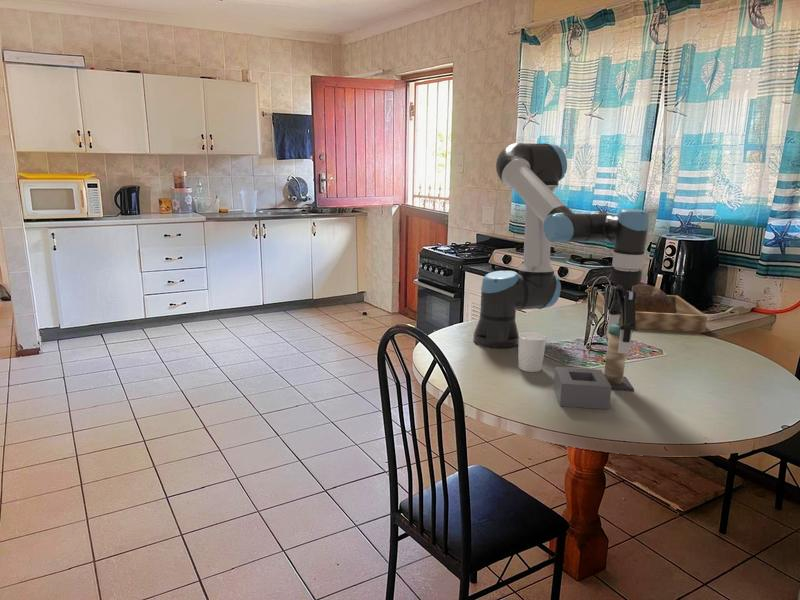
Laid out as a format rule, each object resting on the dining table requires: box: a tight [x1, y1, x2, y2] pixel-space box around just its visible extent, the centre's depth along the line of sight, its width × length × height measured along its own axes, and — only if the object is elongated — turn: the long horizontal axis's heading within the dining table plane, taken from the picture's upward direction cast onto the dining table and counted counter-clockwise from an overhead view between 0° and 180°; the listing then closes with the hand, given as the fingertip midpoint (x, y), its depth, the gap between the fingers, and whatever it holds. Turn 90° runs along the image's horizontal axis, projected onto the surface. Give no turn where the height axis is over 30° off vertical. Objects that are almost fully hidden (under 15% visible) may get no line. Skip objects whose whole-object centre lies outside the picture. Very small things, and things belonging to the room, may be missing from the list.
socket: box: [553, 366, 612, 410], centre depth 153 cm, size 12×12×6 cm
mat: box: [610, 376, 635, 392], centre depth 164 cm, size 9×9×1 cm
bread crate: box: [595, 291, 708, 333], centre depth 231 cm, size 33×32×6 cm
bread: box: [620, 283, 677, 314], centre depth 232 cm, size 26×27×13 cm
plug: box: [603, 324, 627, 385], centre depth 162 cm, size 5×5×16 cm
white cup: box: [517, 331, 547, 373], centre depth 173 cm, size 8×8×10 cm
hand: (617, 344), depth 161 cm, fingers open, 13 cm apart
